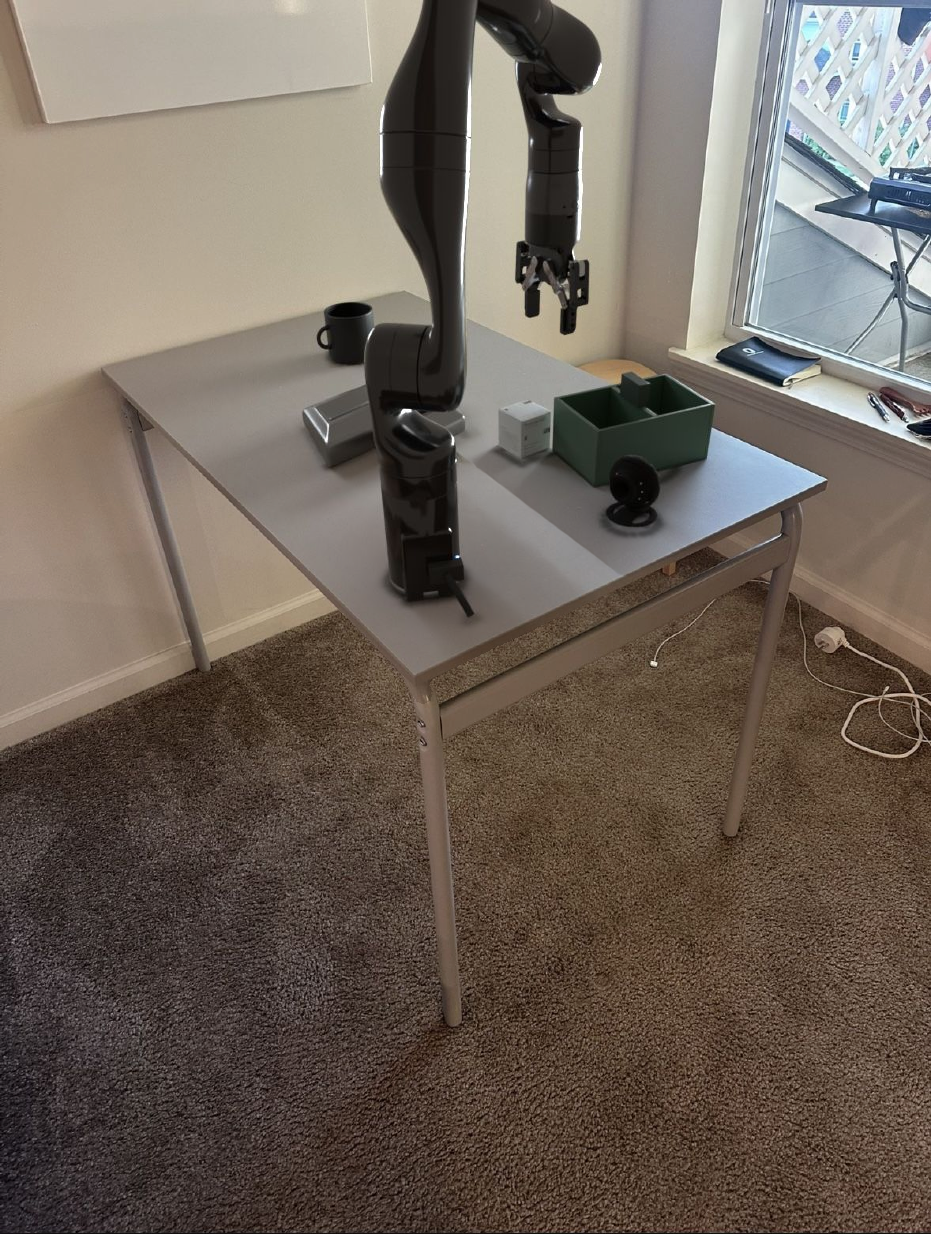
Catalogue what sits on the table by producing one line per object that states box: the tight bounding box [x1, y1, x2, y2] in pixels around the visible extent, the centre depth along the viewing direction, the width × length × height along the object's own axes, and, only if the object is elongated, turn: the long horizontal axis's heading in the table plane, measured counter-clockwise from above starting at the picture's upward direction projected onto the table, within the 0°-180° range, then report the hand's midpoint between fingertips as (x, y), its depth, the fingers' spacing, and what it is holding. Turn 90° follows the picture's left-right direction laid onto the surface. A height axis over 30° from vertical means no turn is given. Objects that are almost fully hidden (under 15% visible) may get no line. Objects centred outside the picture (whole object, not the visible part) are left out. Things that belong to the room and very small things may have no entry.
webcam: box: [605, 455, 661, 528], centre depth 123 cm, size 8×8×10 cm
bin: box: [551, 371, 716, 488], centre depth 136 cm, size 20×13×12 cm, turn 114°
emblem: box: [301, 384, 466, 468], centre depth 149 cm, size 28×5×28 cm
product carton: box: [497, 399, 552, 459], centre depth 141 cm, size 6×6×7 cm
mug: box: [316, 301, 375, 365], centre depth 175 cm, size 9×12×9 cm
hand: (549, 324), depth 130 cm, fingers open, 8 cm apart
